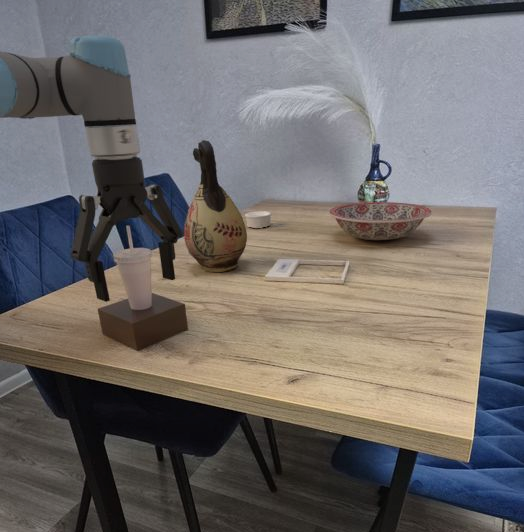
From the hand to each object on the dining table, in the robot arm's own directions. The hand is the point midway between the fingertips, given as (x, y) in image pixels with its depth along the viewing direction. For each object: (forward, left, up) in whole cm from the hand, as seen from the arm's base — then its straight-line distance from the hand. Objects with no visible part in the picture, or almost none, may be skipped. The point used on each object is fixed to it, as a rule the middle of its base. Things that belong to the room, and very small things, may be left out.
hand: (138, 288), depth 82 cm
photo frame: (+3, +45, -8) cm, 46 cm away
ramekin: (-43, +77, -8) cm, 89 cm away
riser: (0, 0, -8) cm, 8 cm away
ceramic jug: (-18, +35, -8) cm, 40 cm away
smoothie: (0, 0, -3) cm, 3 cm away
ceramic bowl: (-1, +84, -8) cm, 84 cm away
